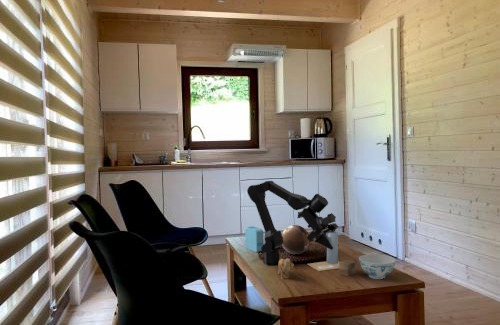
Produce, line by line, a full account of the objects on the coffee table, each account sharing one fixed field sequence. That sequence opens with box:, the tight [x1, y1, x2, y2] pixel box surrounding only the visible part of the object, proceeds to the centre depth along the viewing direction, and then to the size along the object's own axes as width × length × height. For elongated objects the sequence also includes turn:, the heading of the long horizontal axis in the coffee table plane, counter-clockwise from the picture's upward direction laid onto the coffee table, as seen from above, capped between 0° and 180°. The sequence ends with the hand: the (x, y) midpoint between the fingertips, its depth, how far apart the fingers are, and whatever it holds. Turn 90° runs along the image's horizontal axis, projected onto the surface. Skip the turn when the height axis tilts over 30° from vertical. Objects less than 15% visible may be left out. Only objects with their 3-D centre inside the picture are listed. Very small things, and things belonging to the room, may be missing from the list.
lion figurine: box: [277, 258, 295, 280], centre depth 183 cm, size 15×5×9 cm, turn 15°
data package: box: [244, 225, 265, 253], centre depth 228 cm, size 12×4×12 cm, turn 31°
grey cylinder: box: [326, 231, 339, 264], centre depth 181 cm, size 5×5×13 cm
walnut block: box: [338, 259, 357, 277], centre depth 185 cm, size 5×5×5 cm
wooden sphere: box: [281, 224, 311, 255], centre depth 218 cm, size 15×15×15 cm
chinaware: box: [358, 253, 397, 280], centre depth 179 cm, size 15×15×8 cm
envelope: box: [307, 260, 341, 272], centre depth 196 cm, size 16×12×1 cm
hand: (335, 247), depth 180 cm, fingers closed on grey cylinder, 5 cm apart
